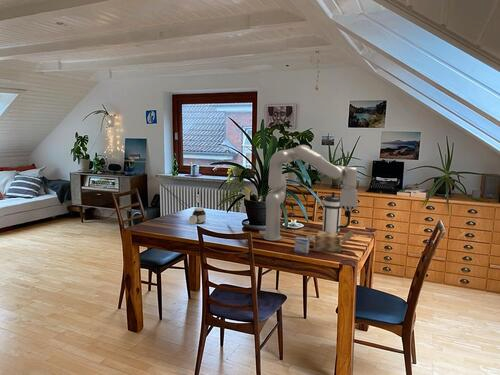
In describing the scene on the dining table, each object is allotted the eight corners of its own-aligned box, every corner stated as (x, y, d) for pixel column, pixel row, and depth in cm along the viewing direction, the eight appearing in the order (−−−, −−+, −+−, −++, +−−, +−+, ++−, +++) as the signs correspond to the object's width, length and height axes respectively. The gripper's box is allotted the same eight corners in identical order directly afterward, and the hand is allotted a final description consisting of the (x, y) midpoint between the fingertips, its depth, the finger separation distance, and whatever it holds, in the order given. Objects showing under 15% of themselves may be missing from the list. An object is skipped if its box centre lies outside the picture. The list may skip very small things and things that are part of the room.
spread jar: (206, 221, 276) (206, 207, 274) (203, 225, 265) (203, 210, 263) (191, 221, 277) (191, 206, 275) (187, 225, 266) (187, 209, 264)
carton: (304, 252, 213) (305, 241, 212) (307, 240, 236) (307, 230, 235) (341, 255, 209) (342, 244, 208) (339, 242, 232) (340, 232, 231)
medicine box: (294, 252, 213) (294, 238, 211) (296, 249, 217) (296, 236, 215) (306, 254, 210) (307, 240, 208) (308, 252, 214) (309, 238, 212)
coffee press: (329, 237, 242) (332, 194, 237) (316, 231, 257) (318, 190, 252) (349, 235, 250) (352, 193, 245) (335, 229, 264) (337, 189, 259)
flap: (342, 243, 213) (352, 234, 211) (341, 237, 225) (351, 229, 223) (343, 243, 213) (353, 235, 211) (342, 237, 225) (352, 229, 223)
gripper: (336, 187, 211) (334, 217, 214) (362, 189, 208) (360, 219, 211) (336, 185, 219) (334, 214, 222) (361, 187, 216) (359, 216, 219)
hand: (347, 216), depth 217 cm, fingers closed
